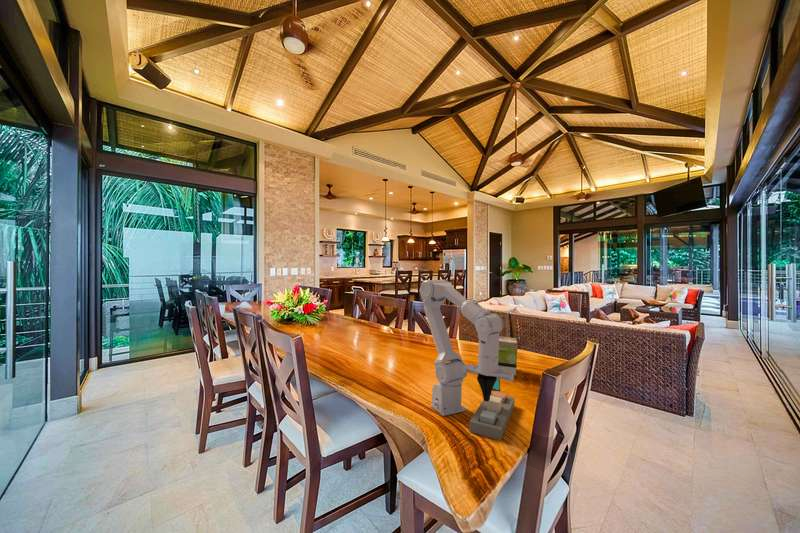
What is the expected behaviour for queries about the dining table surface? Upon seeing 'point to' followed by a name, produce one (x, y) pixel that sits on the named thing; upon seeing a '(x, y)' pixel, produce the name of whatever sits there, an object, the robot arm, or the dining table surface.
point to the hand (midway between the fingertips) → (486, 400)
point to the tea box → (507, 354)
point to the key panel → (501, 422)
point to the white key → (494, 404)
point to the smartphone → (496, 385)
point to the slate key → (488, 417)
